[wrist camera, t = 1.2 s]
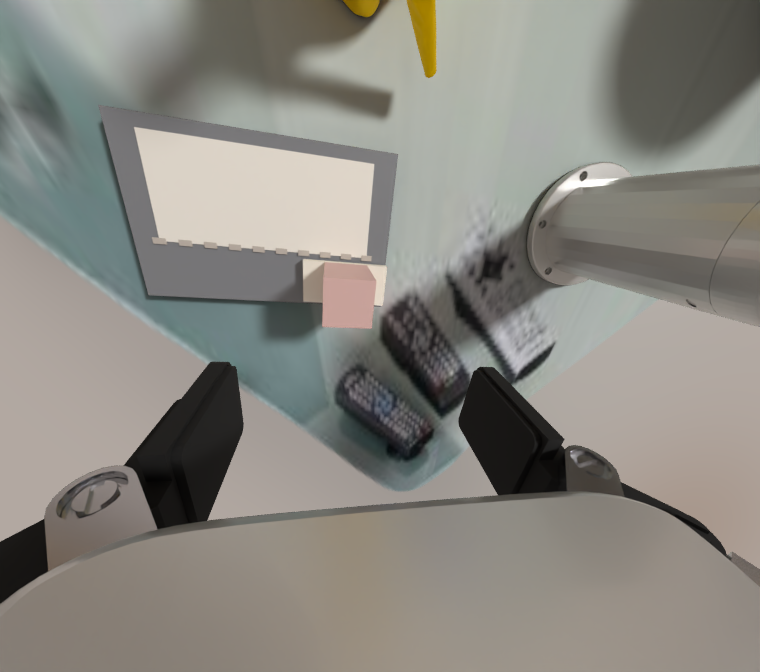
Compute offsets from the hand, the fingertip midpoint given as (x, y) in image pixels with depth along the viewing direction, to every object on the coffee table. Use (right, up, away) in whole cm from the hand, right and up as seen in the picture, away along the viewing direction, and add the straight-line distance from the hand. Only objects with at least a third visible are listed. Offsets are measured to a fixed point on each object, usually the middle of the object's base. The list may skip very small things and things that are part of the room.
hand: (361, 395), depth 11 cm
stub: (-3, +8, +16) cm, 18 cm away
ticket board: (-9, +13, +15) cm, 22 cm away
